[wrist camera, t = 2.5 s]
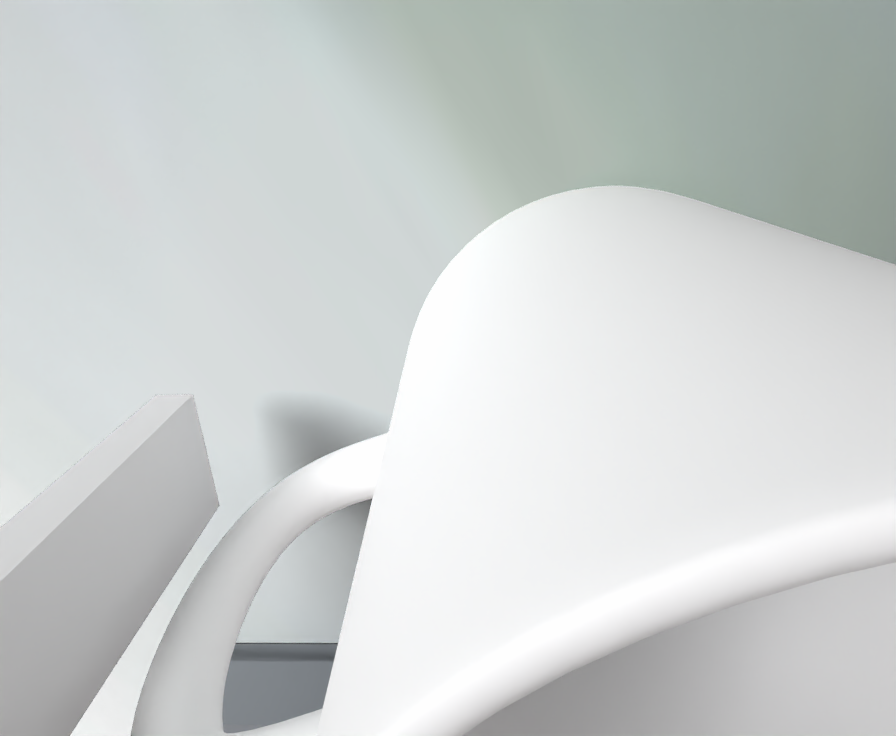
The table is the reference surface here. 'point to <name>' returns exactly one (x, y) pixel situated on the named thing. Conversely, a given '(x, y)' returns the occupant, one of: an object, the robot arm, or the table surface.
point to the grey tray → (274, 683)
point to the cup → (601, 496)
